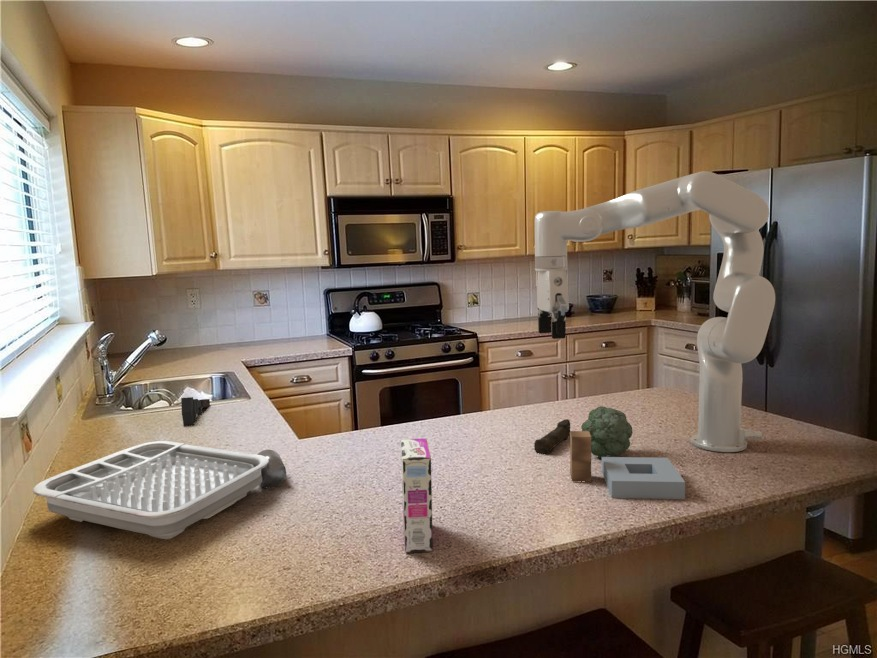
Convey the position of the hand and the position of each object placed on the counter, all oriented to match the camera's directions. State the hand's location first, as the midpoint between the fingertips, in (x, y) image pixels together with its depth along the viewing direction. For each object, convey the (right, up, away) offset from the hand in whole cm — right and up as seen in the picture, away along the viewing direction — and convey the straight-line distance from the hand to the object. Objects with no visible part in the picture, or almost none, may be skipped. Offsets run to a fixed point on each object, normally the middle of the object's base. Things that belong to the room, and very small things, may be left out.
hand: (551, 335), depth 147 cm
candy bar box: (-31, -35, -40) cm, 61 cm away
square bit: (+3, -31, -15) cm, 34 cm away
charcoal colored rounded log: (+2, -28, +9) cm, 30 cm away
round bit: (-66, -29, -8) cm, 73 cm away
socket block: (+15, -31, -20) cm, 40 cm away
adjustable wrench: (-104, -26, +47) cm, 117 cm away
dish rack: (-84, -35, -23) cm, 94 cm away
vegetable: (+12, -29, +1) cm, 31 cm away
